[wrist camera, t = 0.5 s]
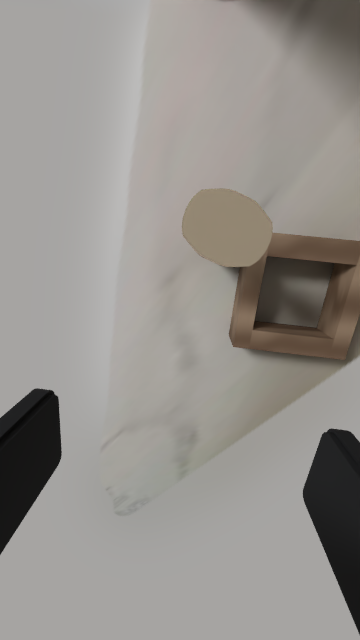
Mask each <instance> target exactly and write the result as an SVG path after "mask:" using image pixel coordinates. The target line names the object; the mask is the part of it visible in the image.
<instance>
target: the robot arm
mask: <svg viewBox="0 0 360 640" xmlns="http://www.w3.org/2000/svg"><path fill="white" fill-rule="evenodd" d="M60 459H61V435H60V418H59V401H58V397H57V396H56V395H55V394H54V392H53V391H52V390H45V389H34V390H32V391H31V392H30V393H29V394H28V395H27V396H25V397H24V398H23V399H22V400H21V401H20V402H18V403H17V404H16V405H15V406H14V407H13V408H11V409H10V410H9V411H8V412H7V413H6V414H4V415H3V416H2V417H1V418H0V554H1V553H2V551H3V550H4V548H5V546H6V545H7V543H8V542H9V540H10V539H11V537H12V536H13V534H14V533H15V531H16V529H17V528H18V526H19V525H20V523H21V522H22V520H23V519H24V517H25V515H26V514H27V512H28V511H29V509H30V508H31V506H32V505H33V503H34V502H35V500H36V499H37V497H38V495H39V494H40V492H41V490H42V489H43V488H44V486H45V485H46V483H47V481H48V480H49V478H50V477H51V475H52V474H53V472H54V471H55V469H56V468H57V466H58V464H59V462H60ZM303 498H304V502H305V505H306V507H307V509H308V512H309V514H310V517H311V519H312V521H313V524H314V526H315V529H316V531H317V533H318V536H319V538H320V541H321V543H322V545H323V547H324V550H325V553H326V555H327V557H328V560H329V562H330V565H331V567H332V569H333V572H334V574H335V576H336V579H337V581H338V584H339V586H340V589H341V591H342V593H343V596H344V598H345V601H346V603H347V605H348V608H349V610H350V613H351V615H352V617H353V620H354V622H355V624H356V627H357V629H358V632H359V634H360V442H359V441H358V440H357V439H356V438H355V436H354V435H353V434H352V433H351V432H349V431H345V430H338V429H329V430H328V431H327V432H324V433H323V434H322V437H321V440H320V443H319V446H318V448H317V451H316V454H315V457H314V460H313V463H312V466H311V469H310V471H309V474H308V477H307V480H306V483H305V486H304V489H303Z"/></svg>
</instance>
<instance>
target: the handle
mask: <svg viewBox="0 0 360 640" xmlns="http://www.w3.org/2000/svg"><path fill="white" fill-rule="evenodd" d="M272 230H273V227H272V221H271V220H270V219H269V217H268V216H267V214H266V213H265V212H264V210H263V209H262V208H261V207H260V205H259V204H258V203H257V202H256V201H254V200H252V199H251V198H249V197H247V196H245V195H243V194H241V193H238V192H236V191H233V190H230V189H206V190H201V191H200V192H198V193H197V194H196V195H195V196H194V197H193V198H192V199H191V201H190V202H189V204H188V206H187V208H186V210H185V213H184V216H183V221H182V232H183V237H184V238H185V239H186V240H187V242H188V243H189V244H190V245H191V246H192V248H193V249H194V250H195V251H196V252H197V253H198V254H199V255H200V256H202V257H203V258H205V259H208V260H210V261H212V262H214V263H216V264H219V265H221V266H226V267H247V266H251V265H253V264H254V263H256V262H257V261H258V260H259V259H260V258H261V257H262V256H263V254H264V253H265V251H266V250H267V248H268V246H269V243H270V241H271V237H272Z"/></svg>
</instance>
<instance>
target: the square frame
mask: <svg viewBox="0 0 360 640" xmlns="http://www.w3.org/2000/svg"><path fill="white" fill-rule="evenodd" d="M267 256H272V257H282V258H292V259H302V260H312V261H322V262H332V263H335V264H334V268H333V271H332V275H331V279H330V282H329V286H328V289H327V293H326V297H325V300H324V304H323V307H322V311H321V315H320V318H319V322H318V325H317V328H312V327H303V326H294V325H286V324H277V323H268V322H259V321H254V320H255V315H256V309H257V304H258V299H259V294H260V289H261V284H262V279H263V274H264V268H265V263H266V258H267ZM359 315H360V241H353V240H342V239H332V238H321V237H311V236H301V235H290V234H280V233H272V237H271V241H270V243H269V246H268V248H267V250H266V251H265V253H264V254H263V256H262V257H261V258H260V259H259V260H258V261H257V262H256V263H254V264H253V265H251V266H247V267H240V271H239V277H238V283H237V289H236V295H235V301H234V307H233V313H232V319H231V325H230V331H229V337H230V339H231V342H232V345H233V347H239V348H248V349H256V350H265V351H274V352H282V353H291V354H299V355H308V356H316V357H325V358H333V359H342V360H345V358H346V355H347V352H348V349H349V346H350V342H351V339H352V336H353V333H354V330H355V327H356V324H357V321H358V318H359Z"/></svg>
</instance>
